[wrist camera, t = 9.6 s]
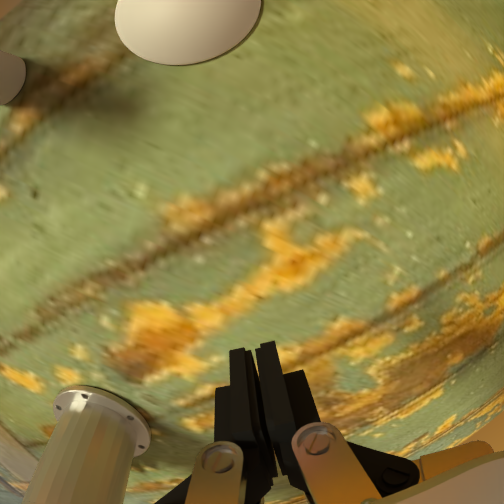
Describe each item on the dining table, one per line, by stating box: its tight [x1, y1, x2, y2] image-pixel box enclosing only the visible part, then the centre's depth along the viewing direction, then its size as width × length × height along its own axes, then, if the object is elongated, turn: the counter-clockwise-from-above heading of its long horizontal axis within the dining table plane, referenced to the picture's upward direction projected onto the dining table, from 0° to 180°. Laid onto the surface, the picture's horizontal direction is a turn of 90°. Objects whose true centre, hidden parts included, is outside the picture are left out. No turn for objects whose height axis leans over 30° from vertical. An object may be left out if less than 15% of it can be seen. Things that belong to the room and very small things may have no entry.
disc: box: [115, 0, 261, 65], centre depth 19 cm, size 12×12×1 cm
